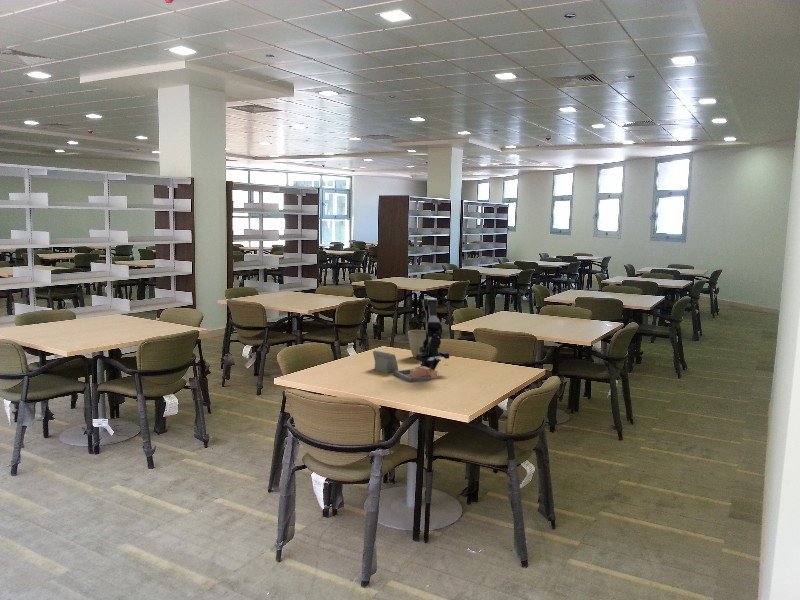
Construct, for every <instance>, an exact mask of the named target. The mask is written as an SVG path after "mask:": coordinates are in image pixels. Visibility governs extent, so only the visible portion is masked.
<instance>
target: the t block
mask: <svg viewBox="0 0 800 600" xmlns="http://www.w3.org/2000/svg"><path fill="white" fill-rule="evenodd" d="M413 369H414V370H410V374H409V377H420V376H428V375H430V376H431V379H435V378H436V379H437V378H438V371H437V370H436V369H435V370H433V369H430V367H425V366H422V365H421V366H418V367H417V368H416V369H415V368H413Z"/></svg>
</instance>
